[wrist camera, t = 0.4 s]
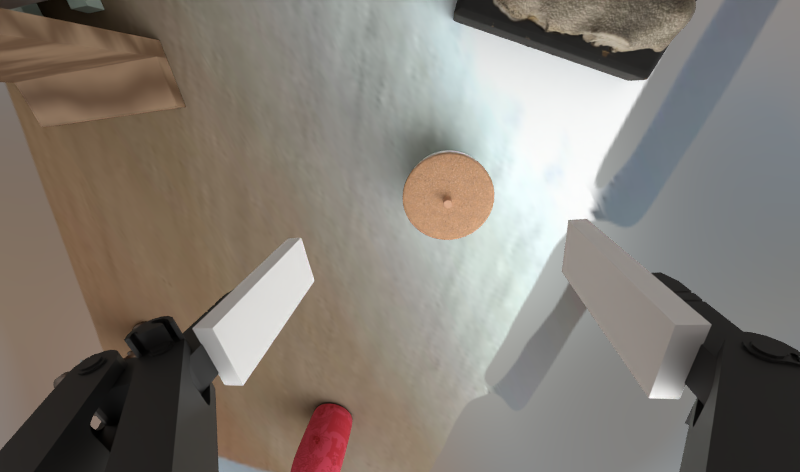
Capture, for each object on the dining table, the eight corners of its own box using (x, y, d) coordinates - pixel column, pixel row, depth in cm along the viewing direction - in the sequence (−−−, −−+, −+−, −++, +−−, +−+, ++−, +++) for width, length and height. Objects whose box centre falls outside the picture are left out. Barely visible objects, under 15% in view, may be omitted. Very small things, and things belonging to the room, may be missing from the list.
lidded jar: (408, 143, 39) (399, 155, 31) (489, 143, 38) (503, 156, 29) (409, 216, 44) (401, 244, 35) (481, 218, 42) (490, 248, 34)
